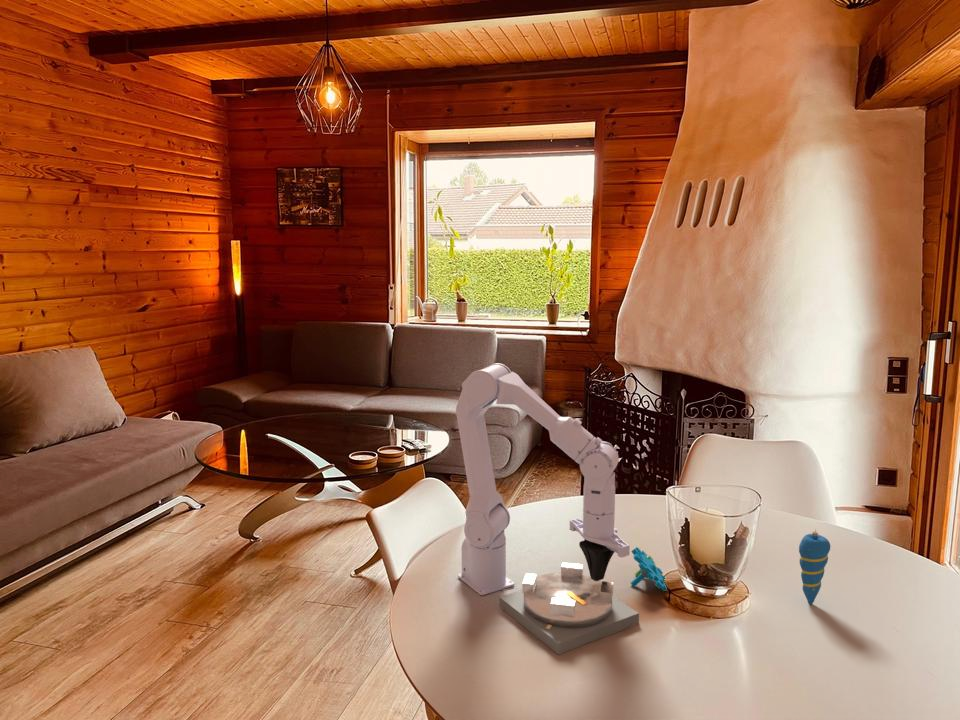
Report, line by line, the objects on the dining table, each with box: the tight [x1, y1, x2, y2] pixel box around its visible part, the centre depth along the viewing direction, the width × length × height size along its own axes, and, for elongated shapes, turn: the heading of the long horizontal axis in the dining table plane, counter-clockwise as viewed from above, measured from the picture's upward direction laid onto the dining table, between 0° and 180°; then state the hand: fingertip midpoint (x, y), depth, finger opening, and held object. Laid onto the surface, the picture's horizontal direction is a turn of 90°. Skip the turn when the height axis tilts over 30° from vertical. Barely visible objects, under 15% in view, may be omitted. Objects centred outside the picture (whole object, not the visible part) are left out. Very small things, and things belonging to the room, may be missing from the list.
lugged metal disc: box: [521, 561, 614, 627], centre depth 125 cm, size 16×16×4 cm
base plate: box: [498, 589, 640, 655], centre depth 125 cm, size 18×18×2 cm
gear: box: [630, 546, 667, 592], centre depth 136 cm, size 11×6×10 cm
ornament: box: [798, 528, 831, 605], centre depth 127 cm, size 5×5×15 cm
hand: (597, 578), depth 128 cm, fingers closed
